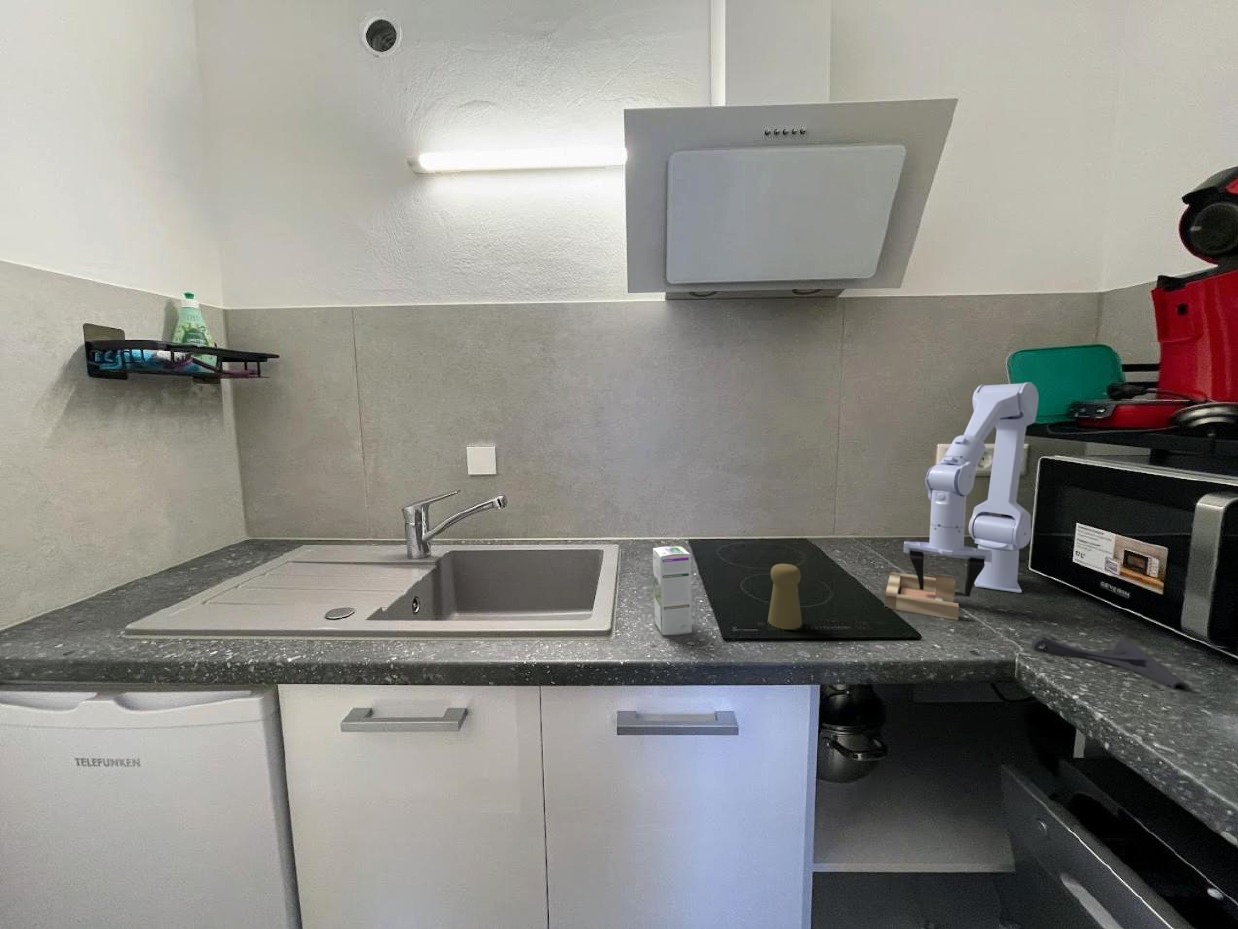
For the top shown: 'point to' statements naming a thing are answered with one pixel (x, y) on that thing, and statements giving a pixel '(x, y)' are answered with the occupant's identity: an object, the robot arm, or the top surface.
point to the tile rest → (916, 603)
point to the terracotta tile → (918, 593)
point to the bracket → (1116, 659)
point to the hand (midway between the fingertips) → (943, 591)
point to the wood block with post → (944, 587)
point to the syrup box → (672, 590)
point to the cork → (785, 597)
